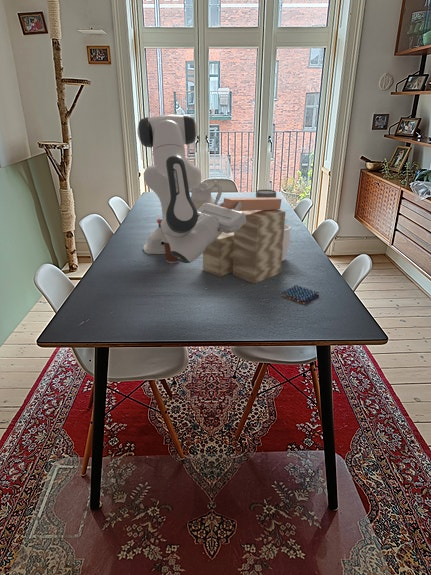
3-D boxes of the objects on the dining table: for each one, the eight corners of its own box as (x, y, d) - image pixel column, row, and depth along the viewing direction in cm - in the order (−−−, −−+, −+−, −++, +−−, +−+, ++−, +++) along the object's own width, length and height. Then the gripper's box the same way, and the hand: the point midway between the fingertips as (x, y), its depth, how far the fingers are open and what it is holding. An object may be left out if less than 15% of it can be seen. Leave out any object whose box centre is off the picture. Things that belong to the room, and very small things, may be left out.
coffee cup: (164, 265, 175) (163, 238, 170) (161, 258, 183) (160, 232, 178) (185, 263, 177) (184, 237, 172) (181, 256, 185) (180, 231, 180)
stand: (254, 283, 158) (257, 218, 147) (233, 274, 166) (234, 212, 155) (280, 273, 167) (285, 211, 156) (259, 265, 175) (262, 205, 164)
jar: (269, 263, 177) (272, 230, 170) (261, 255, 186) (263, 224, 179) (292, 261, 179) (295, 229, 173) (282, 253, 188) (285, 222, 182)
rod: (230, 211, 142) (231, 200, 140) (222, 209, 144) (223, 198, 143) (279, 209, 160) (281, 199, 159) (272, 207, 163) (273, 197, 162)
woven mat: (294, 288, 155) (295, 283, 154) (319, 296, 149) (320, 291, 148) (279, 297, 148) (280, 292, 147) (304, 306, 141) (305, 301, 141)
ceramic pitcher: (223, 220, 245) (223, 177, 237) (220, 226, 227) (220, 181, 219) (188, 219, 247) (187, 177, 239) (182, 225, 229) (181, 180, 220)
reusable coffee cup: (276, 218, 245) (277, 193, 239) (255, 218, 245) (256, 193, 239) (273, 213, 256) (275, 189, 250) (254, 213, 257) (255, 189, 250)
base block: (219, 276, 163) (219, 239, 157) (203, 269, 170) (202, 233, 163) (239, 269, 171) (241, 233, 164) (223, 262, 177) (224, 227, 171)
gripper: (227, 227, 131) (253, 200, 135) (187, 214, 145) (212, 190, 149) (233, 241, 135) (258, 215, 140) (194, 227, 149) (218, 204, 153)
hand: (234, 202), depth 144 cm, fingers closed on rod, 4 cm apart
